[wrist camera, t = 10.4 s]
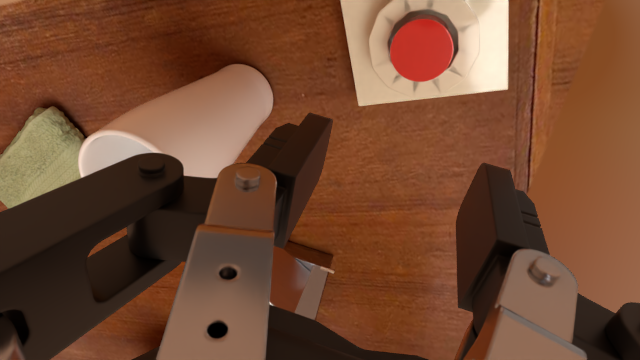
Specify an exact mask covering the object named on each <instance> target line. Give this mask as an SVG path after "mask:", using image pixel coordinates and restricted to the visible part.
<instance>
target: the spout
mask: <svg viewBox="0 0 640 360" xmlns="http://www.w3.org/2000/svg"><path fill="white" fill-rule="evenodd" d="M309 275H310V271H308V270H307V269H306V268H305V267H304V266H303V265H301V264H300V263H299V262H298V261H297V260H296V259H294V258H293V257H292V256H291V255H290V254H289V253H287V252H286V251H285V250H284V249H282V248H279V247H276V246H274V248H273V262H272V276H271V290H270V303H269V304H270V305H273V306H276V307H279V308H282V309H285V310H288V311H290V312H293V313H295V310H296V308H297V305H298V303H299V300H300V298H301V295H302V293H303V290H304V288H305V285H306V283H307V280H308V278H309Z"/></svg>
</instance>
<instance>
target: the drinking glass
mask: <svg viewBox="0 0 640 360" xmlns="http://www.w3.org/2000/svg"><path fill="white" fill-rule="evenodd" d="M272 107H273V93H272V89H271V87H270V85H269V83H268V81H267V80H266V78H265V77H264V76H263V75H262V74H261V73H260V72H259V71H257V70H256V69H254V68H253V67H250V66H248V65H244V64H232V65H228V66H226V67H224V68H222V69H220V70H219V71H217V72H216V73H213V74H211V75H209V76H206V77H204V78H202V79H199V80H197V81H195V82H192V83H190V84H188V85H185V86H183V87H180V88H178V89H176V90H173V91H171V92H168V93H166V94H163V95H161V96H159V97H156V98H154V99H152V100H149V101H147V102H145V103H143V104H141V105H139V106H137V107H135V108H133V109H131V110H129V111H127V112H126V113H124V114H122V115H121V116H119V117H117V118H116V119H114V120H112V121H111V122H109V123H108V124H106V125H105V126H103V127H102V128H100V129H99V130H97V131H96V132H94V133H93V134H91V135H90V136H89V137H87V138H86V139H85V141H84V142H83V144H82V145H81V148H80V150H79V155H78V167H79V172H80V176H81V178H82V177H85V176H87V175H89V174H92V173H94V172H96V171H99V170H101V169H103V168H106V167H108V166H111V165H113V164H115V163H118V162H120V161H122V160H125V159H127V158H129V157H132V156H135V155H138V154H143V153H163V154H167V155H170V156H173V157H175V158H177V159H178V160H179V161H180V162H181V163H182V164H183V167H184V176H193V177H204V178H217V177H218V174H219V172H220V171H221V170H222V169H223V168H225V167H227V166H229V165H232V164H234V162H235V161H236V159H237V158H238V157H239V155H240V154H241V152H242V151H243V149H244V148H245V146H246V145H247V144H248V142H249V141H250V139H251V138H252V136H253V135H254V134H255V132H256V131H257V130H258V128H259V127H260V126H261V124H262V123H263V122H264V121H265V120H266V119H267V118H268V116H269V115H270V113H271V111H272Z"/></svg>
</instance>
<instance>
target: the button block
mask: <svg viewBox="0 0 640 360" xmlns="http://www.w3.org/2000/svg"><path fill="white" fill-rule="evenodd" d="M340 2H341V7H342V13H343V19H344V25H345V31H346V36H347V42H348V48H349V54H350V59H351V65H352V71H353V77H354V82H355V88H356V94H357V100H358V105H359V106H365V105H374V104H383V103H392V102H401V101H409V100H418V99H427V98H436V97H445V96H454V95H463V94H472V93H481V92H490V91H498V90H507V89H508V45H509V0H340ZM419 14H432V15H435V16H438V17H440V18H441V19H443V20H444V21H445V22H446V23H447V24H448V26H449V27H450V29H451V31H452V35H453V42H454V52H453V57H452V60H451V62H450V64H449V66H448V67H447V69H446V70H445V71H444V72H443V73H442V74H441V75H439V76H438V77H436V78H434V79H432V80H429V81H424V82H415V81H411V80H408V79H406V78H404V77H403V76H401V75H400V74H399V73H398V72H397V71H396V69H395V68H394V66H393V64H392V61H391V57H390V47H391V43H392V40H393V38H394V36H395V34H396V32H397V30H398V28H399V27H400V26H401V25H402V23H404V22H405V21H406V20H407V19H409V18H411V17H413V16H415V15H419Z"/></svg>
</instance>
